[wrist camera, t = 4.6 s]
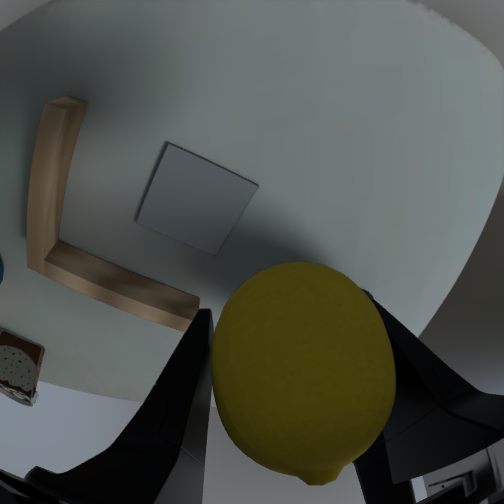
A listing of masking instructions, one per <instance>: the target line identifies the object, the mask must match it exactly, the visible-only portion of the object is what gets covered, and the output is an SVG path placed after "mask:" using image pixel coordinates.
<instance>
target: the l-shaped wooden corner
mask: <svg viewBox="0 0 504 504" xmlns="http://www.w3.org/2000/svg"><path fill="white" fill-rule="evenodd" d="M87 104H88V103H87V102H84V101H81V100H79V99H76V98H73V97H70V96H65V97H62V98H58V99H55V100H52V101H49V102H46V103H44V107H43V110H42V114H41V118H40V122H39V127H38V131H37V136H36V141H35V147H34V153H33V159H32V166H31V173H30V182H29V192H28V206H27V265H28V268H30V269H32V270H34V271H36V272H38V273H40V274H42V275H44V276H46V277H48V278H50V279H52V280H54V281H56V282H58V283H60V284H63V285H65V286H67V287H69V288H71V289H73V290H76V291H78V292H80V293H82V294H84V295H87V296H89V297H91V298H94V299H96V300H98V301H101V302H103V303H106V304H108V305H111V306H113V307H116V308H118V309H121V310H123V311H126V312H128V313H131V314H134V315H136V316H139V317H142V318H144V319H147V320H150V321H153V322H156V323H159V324H161V325H164V326H167V327H170V328H173V329H176V330H179V331H183V332H186V330H187V328H188V327H189V325H190V323H191V322H192V320H193V318H194V317H195V315H196V313H197V312H198V310H199V302H200V298H198V297H195V296H193V295H190V294H187V293H184V292H182V291H179V290H176V289H174V288H171V287H168V286H166V285H163V284H160V283H158V282H155V281H153V280H150V279H148V278H145V277H143V276H140V275H138V274H135V273H133V272H130V271H128V270H125V269H123V268H120V267H118V266H116V265H113V264H111V263H109V262H106V261H104V260H102V259H99V258H97V257H95V256H92V255H90V254H88V253H86V252H83V251H81V250H79V249H77V248H75V247H72V246H70V245H68V244H66V243H64V242H62V241H59V240H58V237H59V227H60V219H61V212H62V205H63V199H64V193H65V187H66V182H67V177H68V172H69V168H70V163H71V159H72V155H73V151H74V147H75V143H76V139H77V136H78V132H79V129H80V126H81V122H82V119H83V116H84V113H85V110H86V107H87Z"/></svg>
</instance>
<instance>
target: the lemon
mask: <svg viewBox="0 0 504 504" xmlns="http://www.w3.org/2000/svg"><path fill="white" fill-rule="evenodd" d="M210 364H211V377H212V385H213V392H214V397H215V402H216V406H217V409H218V413H219V416H220V418H221V421H222V424H223V426H224V428H225V430H226V432H227V434H228V436H229V437H230V438H231V440H232V441H233V442H234V444H235V445H236V446H237V447H238V448H239V449H240V450H241V451H242V452H243V453H244V454H245V455H247V456H248V457H250V458H251V459H253V460H254V461H255V462H257V463H258V464H260V465H262V466H264V467H266V468H268V469H270V470H273V471H276V472H279V473H282V474H287V475H292V476H297V477H298V478H300V479H301V480H302V481H304V482H305V483H306V484H308V485H324V484H327V483H329V482H332V481H334V480H336V478H337V477H338V475H339V474H340V472H341V470H342V469H343V467H344V466H346V465H348V464H349V463H351V462H352V461H354V460H355V459H357V458H358V457H359V456H360V455H361V454H363V453H364V452H365V451H366V450H367V449H368V448H369V447H370V446H371V445H372V444H373V442H374V441H375V440H376V439H377V437H378V436H379V434H380V433H381V431H382V430H383V428H384V426H385V424H386V422H387V420H388V418H389V416H390V414H391V411H392V407H393V404H394V399H395V391H396V373H395V363H394V357H393V352H392V348H391V344H390V340H389V337H388V334H387V331H386V329H385V326H384V323H383V321H382V319H381V316H380V314H379V312H378V310H377V309H376V307H375V306H374V304H373V302H372V301H371V300H370V299H369V297H368V296H367V295H366V294H365V293H364V292H363V291H362V290H361V289H360V288H359V287H358V286H357V285H356V284H355V283H354V282H353V281H352V280H351V279H349V278H348V277H347V276H345V275H344V274H342V273H340V272H338V271H336V270H333V269H331V268H329V267H327V266H325V265H320V264H315V263H309V262H287V263H283V264H279V265H274V266H271V267H269V268H267V269H264V270H262V271H260V272H258V273H256V274H255V275H254V276H252V277H251V278H250V279H248V280H247V281H245V282H244V283H243V284H241V286H240V287H239V288H238V289H237V290H236V291H235V293H234V294H233V295H232V296H231V297H230V299H229V300H228V301H227V303H226V305H225V306H224V308H223V310H222V313H221V316H220V318H219V321H218V323H217V326H216V328H215V332H214V336H213V340H212V346H211V357H210Z"/></svg>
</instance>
